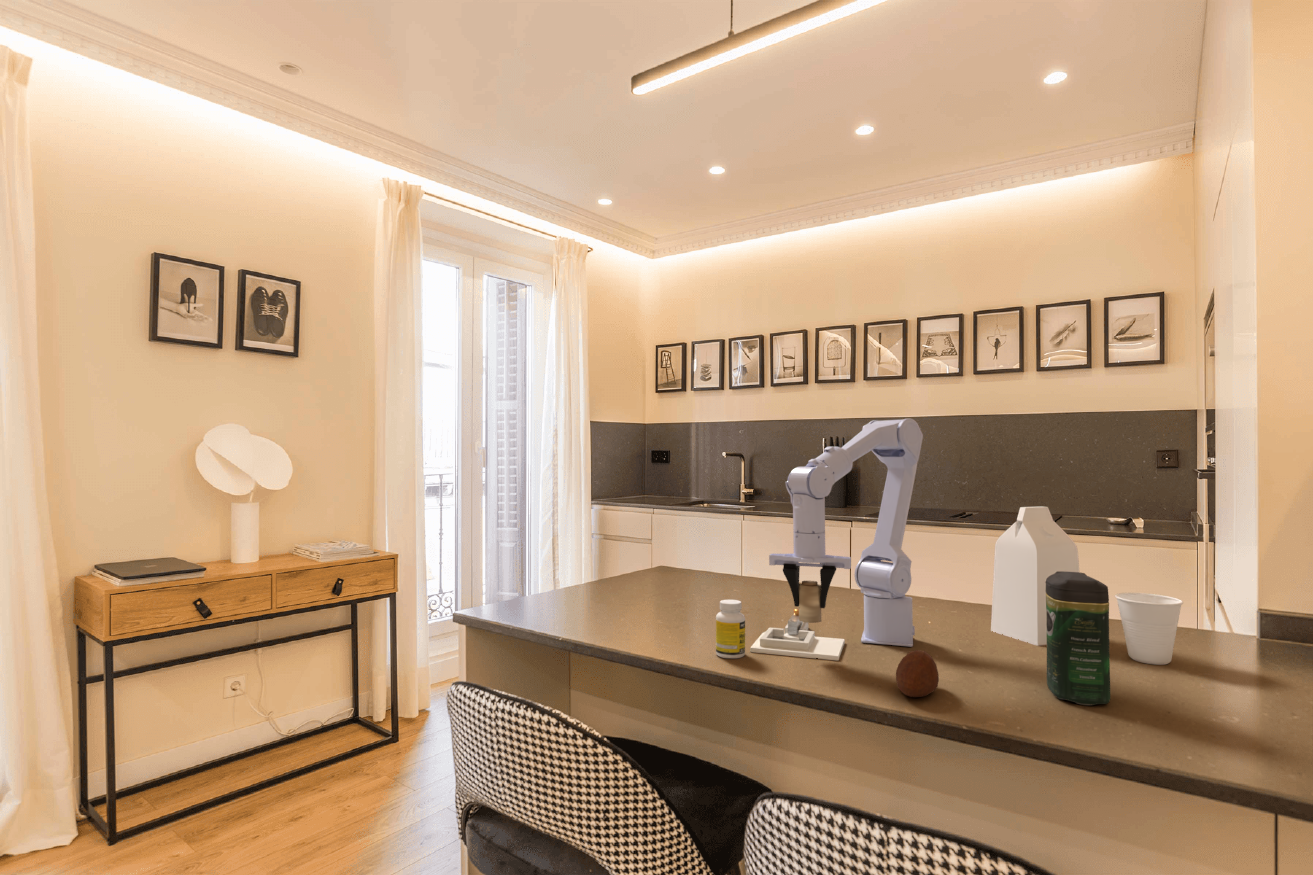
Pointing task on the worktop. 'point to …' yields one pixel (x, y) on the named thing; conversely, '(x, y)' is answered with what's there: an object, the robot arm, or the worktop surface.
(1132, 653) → the cup
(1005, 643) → the worktop surface
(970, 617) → the worktop surface
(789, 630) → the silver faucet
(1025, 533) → the milk
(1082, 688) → the coffee jar
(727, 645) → the supplement bottle
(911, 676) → the potato
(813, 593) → the beige lidded canister
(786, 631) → the dock
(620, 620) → the worktop surface
